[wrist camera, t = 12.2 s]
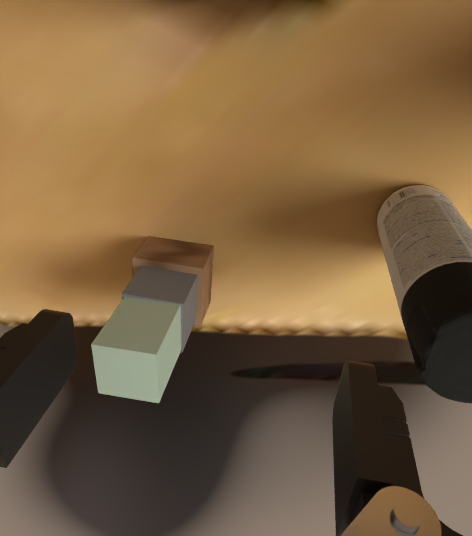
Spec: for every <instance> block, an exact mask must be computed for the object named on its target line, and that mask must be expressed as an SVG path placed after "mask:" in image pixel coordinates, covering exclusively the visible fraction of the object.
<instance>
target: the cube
mask: <svg viewBox="0 0 472 536" xmlns="http://www.w3.org/2000/svg"><path fill="white" fill-rule="evenodd" d="M197 278H198V275H197V274H190V273H184V272H178V271H172V270H166V269H160V268H154V267H148V266H141V268H140V269H139V270H138V272H137V273H136V275H135V276H134V277H133V279H132V280H131V282H130V283H129V284H128V286H127V287H126V289H125V290H124V291H123V293H122V300H123V298H124V297H130V298H138V299H145V300H152V301H159V302H166V303H173V304H180V305H181V351H180V353H182V351H183V349H184V347H185V344H186V342H187V339H188V337H189V335H190V332H191V330H192V327H193V325H194V322H195V315H196V297H197Z"/></svg>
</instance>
